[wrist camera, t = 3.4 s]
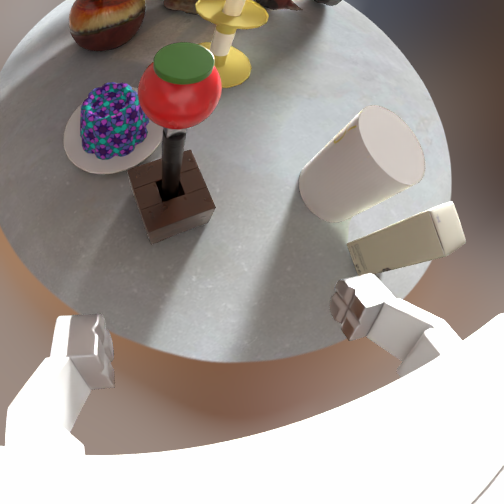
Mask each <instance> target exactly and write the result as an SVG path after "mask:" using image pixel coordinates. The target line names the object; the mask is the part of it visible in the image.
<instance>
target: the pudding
mask: <svg viewBox="0 0 504 504" xmlns="http://www.w3.org/2000/svg"><path fill="white" fill-rule="evenodd" d="M162 137H163V127H161V126H159V125H157V124H155V123H153V122H152V121H151V120H150V119H149V118H148V117H147V116H146V115H145V114H144V112H143V111H142V109H141V106H140V104H139V100H138V89H137V88H131V86H129V85H128V84H126V83H119V84H116V83H114V82H109V83H106V84H104V85H103V86H102V87H98V88H95V89H93V90H92V91H91V92H90V93H89V95H88V98H87V99H85V100H84V102H83V103H82V104H81V105H80V106H79V107H78V108H77V109H76V110H75V111H74V113H73V114H72V115H71V117H70V119H69V120H68V122H67V125H66V127H65V130H64V136H63V144H64V149H65V152H66V154H67V156H68V158H69V159H70V161H71V162H72V163H73V164H74V165H75V166H77V167H78V168H80V169H82V170H84V171H87V172H90V173H95V174H111V173H117V172H121V171H124V170H127V169H129V168H132V167H134V166H136V165H137V164H139V163H141V162H142V161H144V160H145V159H146V158H147V157H149V156H150V155H151V154H152V153H153V152H154V151H155V149H156V148H157V147H158V146H159V144H160V142H161V141H162Z"/></svg>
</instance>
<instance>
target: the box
mask: <svg viewBox="0 0 504 504" xmlns="http://www.w3.org/2000/svg"><path fill="white" fill-rule="evenodd" d="M465 243H466V240H465V236H464V233H463V230H462V227H461V224H460V221H459V218H458V215H457V212H456V209H455V206H454V204H453V202H452V201H450V202H447V203H444V204H441V205H439V206H436V207H434V208H431V209H429V210H426V211H423V212H421V213H419V214H416V215H414V216H412V217H409V218H407V219H404V220H402V221H400V222H397V223H395V224H392V225H390V226H388V227H385V228H383V229H380V230H378V231H376V232H373V233H371V234H368V235H366V236H364V237H361V238H359V239H356V240H354V241H351V242H349V243H347V246H348V249H349V252H350V255H351V257H352V260H353V263H354V266H355V268H356V271H357V274H358V276H360V275H364V274H369V273H372V274H376V273H381V272H385V271H389V270H393V269H397V268H402V267H406V266H410V265H414V264H418V263H422V262H426V261H430V260H434V259H438V258H442V257H446V256H447V255H449V254H451V253H452V252H454V251H456V250H457V249H458V248H460V247H461V246H462V245H463V244H465Z"/></svg>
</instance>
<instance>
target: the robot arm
mask: <svg viewBox="0 0 504 504" xmlns="http://www.w3.org/2000/svg"><path fill="white" fill-rule="evenodd" d="M335 290H336V292H335V294H334V295H333V296H332V297H331V300H330V303H329V307H330V312H331V315H332V317H333V318H334V320H335V321H337V322H339V323H341V330H342V332H343V333H344V334H345V336H346V337H347V339H348V340H349V341H352V340H356V339H359V338H362V337H365V336H367V338H368V339H370V340H371V341H373V342H374V343H376V344H377V345H379V346H380V347H382V348H384V349H385V350H386V351H388V352H389V353H391V354H392V355H394V356H395V357H397V358H398V359H400V360H401V361H403V362H402V363H401V365H400V366H399V367H398V368H397V373H398V374H399V376H400V377H401V378H400V379H398V380H396V381H394V382H393V383H391V384H389V385H387V386H385V387H383V388H380V389H378V390H377V391H374V392H372V393H370V394H368V395H366V396H364V397H361V398H359V399H357V400H354V401H352V402H350V403H347V404H345V405H342V406H340V407H338V408H335V409H332V410H330V411H327V412H325V413H322V414H319V415H317V416H314V417H311V418H308V419H305V420H303V421H299V422H296V423H293V424H290V425H287V426H284V427H281V428H277V429H274V430H270V431H267V432H263V433H260V434H256V435H252V436H248V437H243V438H239V439H235V440H230V441H226V442H221V443H216V444H211V445H206V446H200V447H194V448H187V449H181V450H173V451H165V452H156V453H144V454H128V455H85V448H84V445H83V444H82V443H81V442H80V441H79V440H78V439H76V438H75V437H74V436H73V435H72V434H70V432H71V430H72V428H73V426H74V423H75V422H76V420H77V418H78V416H79V413H80V412H81V410H82V408H83V406H84V404H85V402H86V400H87V398H88V396H89V394H90V392H91V390H92V389H105V388H115V382H114V381H115V380H114V369H113V367H112V365H111V362H112V361H113V359H114V350H113V343H112V339H111V335H110V333H109V331H108V330H107V329H105V319H104V317H103V314H101V313H99V314H83V315H72V316H59V317H58V318H57V320H56V324H55V330H54V335H53V341H52V347H51V353H50V358H46V359H45V360H44V361H43V362H42V363H41V365H40V366H39V367H38V368H37V370H36V371H35V372H34V373H33V375H32V376H31V377H30V379H29V380H28V381H27V382H26V384H25V385H24V387H23V388H22V389H21V390H20V392H19V393H18V394H17V396H16V397H15V399H14V400H13V401H12V403H11V404H10V406H9V407H8V410H7V422H6V435H5V447H3V446H0V504H504V314H499V315H497V316H496V317H495V318H493V319H492V320H491V321H489V322H488V323H487V324H486V325H484V326H483V327H482V328H480V329H479V330H477V331H476V332H475V333H473V334H472V335H471V336H469V337H468V338H466V339H465V340H463V341H462V340H461V339H460V337H459V336H458V335H457V334H456V333H455V332H454V330H453V329H452V328H451V327H450V326H449V325H448V324H447V322H446V321H445V320H443V319H441V318H439V317H437V316H435V315H433V314H431V313H429V312H426V311H425V310H422V309H420V308H418V307H416V306H414V305H412V304H410V303H408V302H406V301H404V300H402V299H400V298H398V299H396V298H395V297H394V296H393V294H392V293H391V292H390V291H389V290H388V289H387V288H386V287H385V286H384V285H383V284H382V282H381V281H380V280H379V279H378V278H377V277H376V276H375V275H374V274H372V273H369V274H364V275H360V276H354V277H349V278H345V279H340V280H339V281H338V282H337V283H336V285H335Z"/></svg>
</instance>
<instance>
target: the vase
mask: <svg viewBox="0 0 504 504" xmlns="http://www.w3.org/2000/svg"><path fill="white" fill-rule="evenodd" d="M145 10H146V3H145V0H76V1H75V2H74V4H73V6H72V8H71V11H70V14H69V29H70V32H71V35H72V37H73V38H74V40H75V41H76V43H77V44H78V45H79V46H81V47H82V48H84V49H86V50H90V51H106V50H111V49H114V48H117V47H119V46H121V45H123V44H124V43H126V42H127V41H129V40H130V39H131V38H132V37H133V36H134V35H135V34H136V33H137V31H138V30H139V28H140V26H141V24H142V22H143V19H144V15H145Z"/></svg>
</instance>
